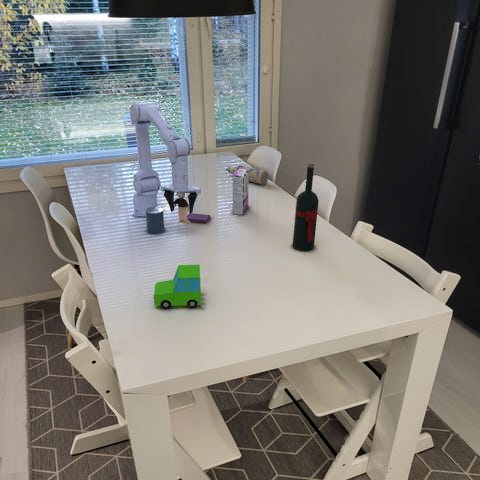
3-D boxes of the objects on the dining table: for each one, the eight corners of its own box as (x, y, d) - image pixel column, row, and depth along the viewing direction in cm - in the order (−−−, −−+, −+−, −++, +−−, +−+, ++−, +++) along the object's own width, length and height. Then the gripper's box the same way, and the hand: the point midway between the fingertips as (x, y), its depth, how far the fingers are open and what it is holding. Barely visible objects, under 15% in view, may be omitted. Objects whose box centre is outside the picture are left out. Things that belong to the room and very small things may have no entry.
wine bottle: (299, 255, 170) (306, 169, 154) (289, 243, 179) (295, 161, 163) (319, 253, 172) (329, 167, 156) (309, 241, 181) (317, 160, 164)
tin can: (144, 233, 185) (142, 212, 180) (151, 227, 190) (149, 206, 186) (161, 235, 184) (159, 213, 179) (166, 228, 189) (165, 207, 185)
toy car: (156, 294, 145) (153, 264, 140) (200, 292, 146) (199, 263, 141) (154, 311, 136) (151, 280, 131) (201, 310, 137) (200, 279, 132)
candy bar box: (237, 205, 213) (237, 168, 204) (248, 206, 212) (249, 169, 204) (231, 214, 204) (232, 175, 195) (243, 215, 203) (244, 176, 194)
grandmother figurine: (194, 221, 181) (192, 188, 173) (189, 225, 178) (187, 192, 171) (177, 218, 183) (174, 185, 176) (171, 222, 181) (168, 189, 173)
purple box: (184, 221, 196) (184, 218, 195) (189, 215, 202) (189, 212, 201) (205, 223, 194) (205, 220, 194) (210, 217, 200) (210, 214, 199)
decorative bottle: (269, 183, 243) (269, 169, 239) (259, 186, 238) (260, 172, 234) (232, 172, 257) (232, 160, 254) (222, 175, 253) (222, 162, 249)
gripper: (156, 176, 169) (159, 213, 177) (196, 179, 167) (197, 217, 174) (163, 170, 175) (165, 207, 183) (202, 174, 173) (202, 210, 180)
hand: (181, 211), depth 179 cm, fingers closed on grandmother figurine, 6 cm apart
